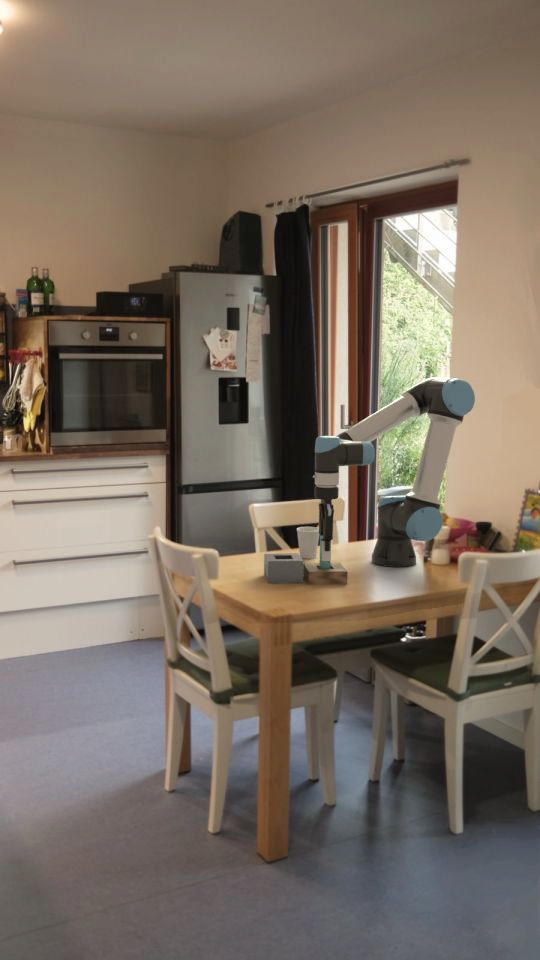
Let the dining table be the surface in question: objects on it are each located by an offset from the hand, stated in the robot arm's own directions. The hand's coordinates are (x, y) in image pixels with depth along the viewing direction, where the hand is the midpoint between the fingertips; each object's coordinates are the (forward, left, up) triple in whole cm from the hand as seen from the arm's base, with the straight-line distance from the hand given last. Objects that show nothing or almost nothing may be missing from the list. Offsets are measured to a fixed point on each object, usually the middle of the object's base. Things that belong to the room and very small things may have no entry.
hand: (325, 559), depth 308 cm
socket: (+13, -2, -7) cm, 15 cm away
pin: (0, 0, -7) cm, 7 cm away
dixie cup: (0, -34, -7) cm, 34 cm away
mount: (0, 0, -7) cm, 7 cm away
